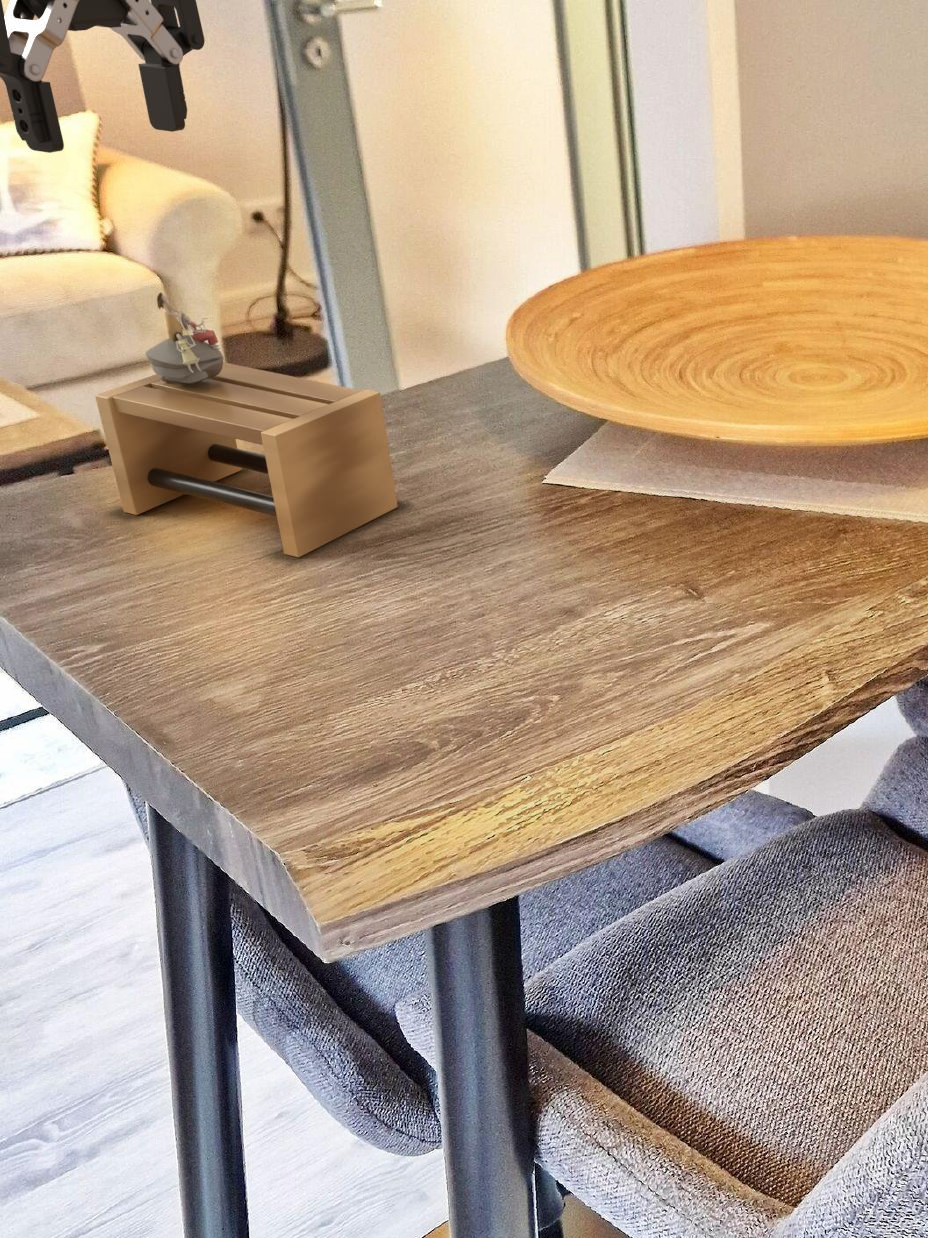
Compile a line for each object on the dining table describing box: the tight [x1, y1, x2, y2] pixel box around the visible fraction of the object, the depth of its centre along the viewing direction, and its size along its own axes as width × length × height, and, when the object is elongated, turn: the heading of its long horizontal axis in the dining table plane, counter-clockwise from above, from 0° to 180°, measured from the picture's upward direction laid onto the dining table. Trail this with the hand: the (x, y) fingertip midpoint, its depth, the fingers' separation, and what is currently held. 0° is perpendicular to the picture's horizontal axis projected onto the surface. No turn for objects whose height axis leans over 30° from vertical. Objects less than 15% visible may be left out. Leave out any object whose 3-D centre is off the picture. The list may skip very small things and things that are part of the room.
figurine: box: [145, 292, 225, 384], centre depth 95 cm, size 5×4×6 cm
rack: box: [94, 361, 398, 558], centre depth 97 cm, size 9×15×8 cm, turn 65°
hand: (109, 140), depth 88 cm, fingers open, 8 cm apart
